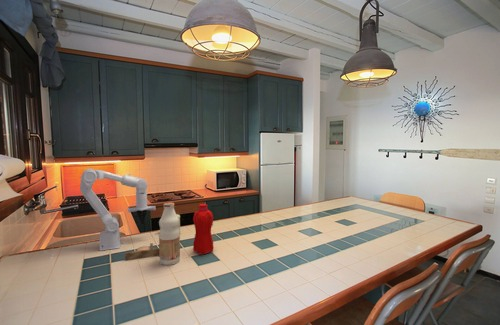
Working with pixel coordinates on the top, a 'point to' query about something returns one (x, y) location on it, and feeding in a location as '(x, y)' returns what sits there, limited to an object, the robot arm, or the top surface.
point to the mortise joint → (142, 253)
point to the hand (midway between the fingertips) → (142, 223)
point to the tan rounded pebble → (143, 248)
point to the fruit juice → (169, 236)
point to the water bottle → (203, 230)
